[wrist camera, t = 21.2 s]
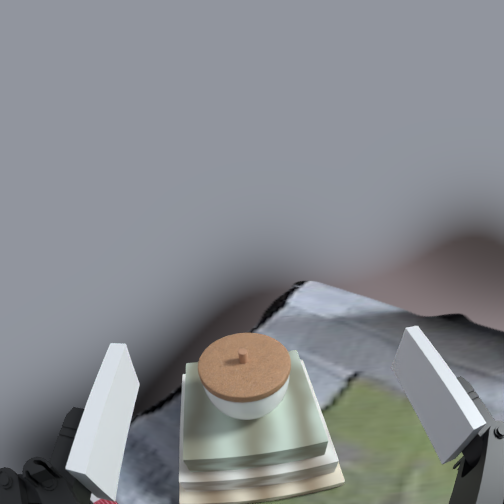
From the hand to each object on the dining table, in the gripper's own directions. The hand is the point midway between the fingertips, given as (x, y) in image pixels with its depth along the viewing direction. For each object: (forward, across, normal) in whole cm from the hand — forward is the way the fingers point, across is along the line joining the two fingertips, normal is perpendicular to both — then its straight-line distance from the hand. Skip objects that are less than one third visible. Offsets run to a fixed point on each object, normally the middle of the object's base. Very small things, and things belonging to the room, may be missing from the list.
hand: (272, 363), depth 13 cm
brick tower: (+16, 0, -32) cm, 36 cm away
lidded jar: (+15, 0, -23) cm, 28 cm away
